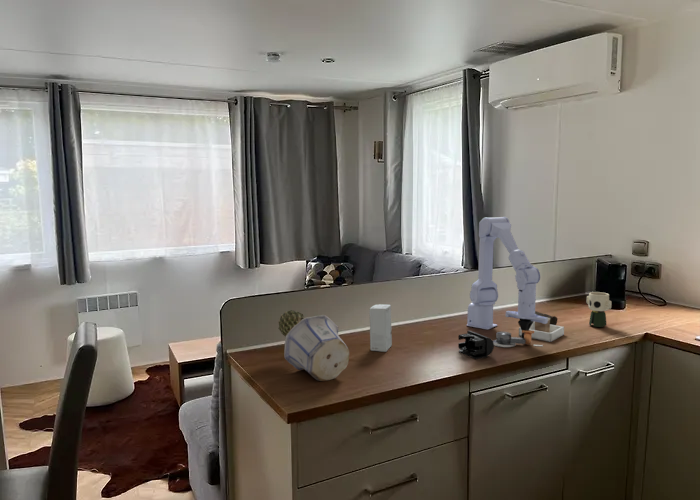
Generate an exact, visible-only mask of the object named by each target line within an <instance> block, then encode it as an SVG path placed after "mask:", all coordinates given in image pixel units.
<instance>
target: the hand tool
mask: <svg viewBox="0 0 700 500" xmlns="http://www.w3.org/2000/svg"><path fill="white" fill-rule="evenodd" d="M535 314H536V315H540V316H543V317H548V318H550V325H556V326H557V323H558V316H555V315H554V316H553V315H550V314H548V313H547V314H546V313H542V312H538V311H536V310H535Z"/></svg>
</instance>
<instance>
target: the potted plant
mask: <svg viewBox="0 0 700 500" xmlns="http://www.w3.org/2000/svg"><path fill="white" fill-rule="evenodd" d="M278 319H279V320H278V322H277V323H278V330H279V331H280V333H281V334H282V336H283V337H285V339H284V351H283V352H284V353H283V354H284V359H285V360H286V361H287V362H288V363H289V364H290V365H292V366H293V368H295V369H296V370H298V371H302V370H303V371H304V370H305V372H307V373H308V374H309V375H310V376H311V377H312V378H313V379H315V380H316V381H319V382H326V381H330V380H331V381H332V380H333V379H336V378H337V377H338V376H339V375H340V374H341V373H342V372H343V371H344V370H346V368H347V366H348V365H349V359H350V349H349V347H348V346H347V344H346V343H345V342H344V340H343V339H342V338H341V337H340V335H339V326H338V325H337V324H336V323H335V321H333V320H332V319H331V318H329V316H327V315H325V314H321V315H314V316H307V317H305V316H304V314H303V313H301V312H300V311H297V310H291V309H289V310H287V311H284V312H283V313H281V315H280V317H279V318H278Z"/></svg>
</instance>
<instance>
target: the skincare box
mask: <svg viewBox="0 0 700 500" xmlns="http://www.w3.org/2000/svg"><path fill="white" fill-rule="evenodd" d="M392 331H393V330H392V305H391V304H382V303H376V304H374V305H372V306H371V307H369V341H370V342H369V344H370V345H369V346H370V351H372V352H380V353H381V352H383V353H386V352H387V351H388V350H389V349H390V348H391V347H392V346H393V345H392V344H393V338H392V337H393V336H392Z"/></svg>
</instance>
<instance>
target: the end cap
mask: <svg viewBox="0 0 700 500" xmlns="http://www.w3.org/2000/svg"><path fill="white" fill-rule="evenodd" d="M460 340H464V342H459V343H458V344H457V345H458V349H459V350H458V352H459V353H460V354H462V355H464V356H467V357H469V358H471V359H473V358H474V359H473V360H480V359H485V358H487V357H489V355H491V354H492V353H493V351H494V348H495V346H494V343H493V339H492V338H491V337H487V336H485V335H482V334H480V333H478V332H475V331H473V330H467V332H466V333H462V334H458V341H460Z"/></svg>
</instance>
